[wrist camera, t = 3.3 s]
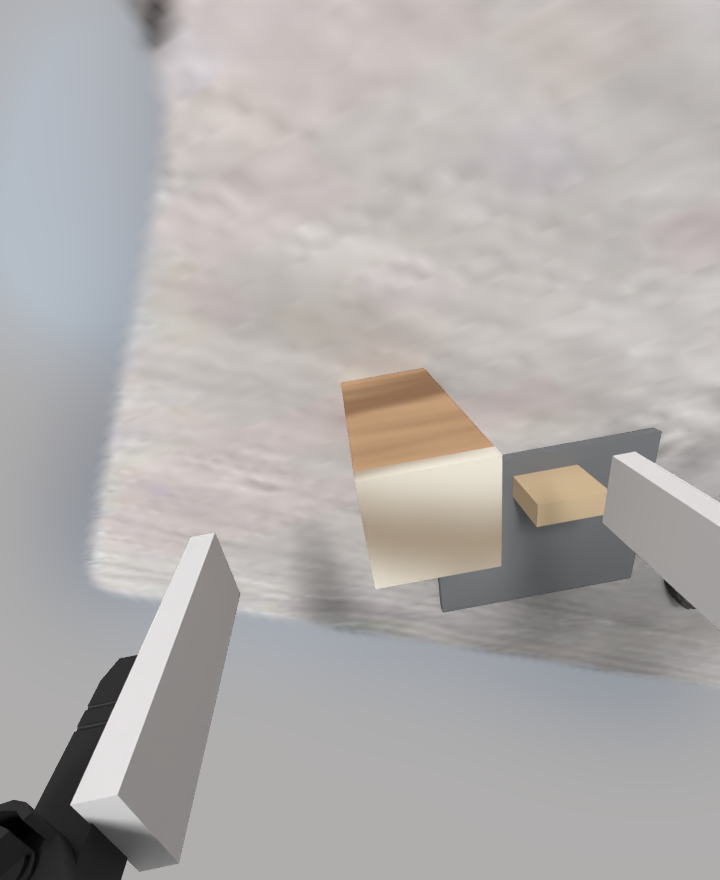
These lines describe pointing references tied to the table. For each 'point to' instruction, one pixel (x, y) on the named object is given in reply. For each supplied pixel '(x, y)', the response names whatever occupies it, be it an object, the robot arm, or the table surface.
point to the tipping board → (553, 523)
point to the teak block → (422, 480)
